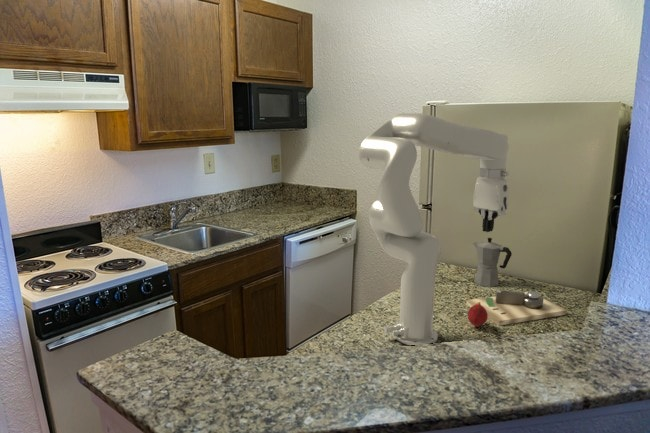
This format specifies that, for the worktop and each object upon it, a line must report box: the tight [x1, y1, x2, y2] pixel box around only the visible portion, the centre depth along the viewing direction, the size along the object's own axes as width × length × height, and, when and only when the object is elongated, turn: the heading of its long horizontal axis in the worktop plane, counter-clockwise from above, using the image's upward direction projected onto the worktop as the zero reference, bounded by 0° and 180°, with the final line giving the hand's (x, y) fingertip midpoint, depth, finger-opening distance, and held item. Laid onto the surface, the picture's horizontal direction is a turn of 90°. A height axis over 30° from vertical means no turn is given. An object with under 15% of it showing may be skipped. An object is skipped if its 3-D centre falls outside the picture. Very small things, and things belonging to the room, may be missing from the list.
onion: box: [467, 302, 488, 328], centre depth 141 cm, size 6×6×8 cm
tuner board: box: [466, 291, 568, 326], centre depth 155 cm, size 26×17×2 cm, turn 108°
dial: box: [495, 289, 545, 309], centre depth 154 cm, size 15×6×4 cm, turn 78°
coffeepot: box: [472, 237, 513, 288], centre depth 176 cm, size 15×9×18 cm, turn 43°
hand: (487, 230), depth 148 cm, fingers closed
